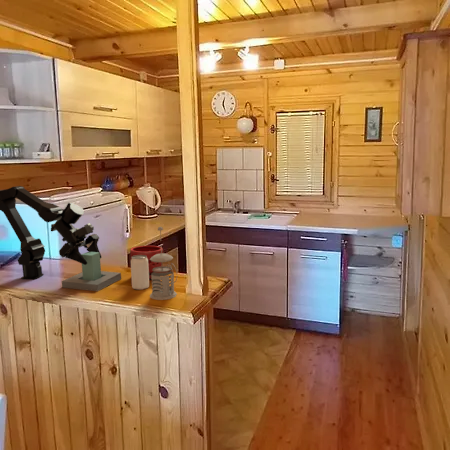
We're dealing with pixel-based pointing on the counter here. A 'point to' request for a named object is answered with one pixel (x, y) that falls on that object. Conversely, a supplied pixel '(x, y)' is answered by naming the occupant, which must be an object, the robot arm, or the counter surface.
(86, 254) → the plug block
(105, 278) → the socket plate
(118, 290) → the counter surface
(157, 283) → the french press
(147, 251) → the plant pot
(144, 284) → the can
